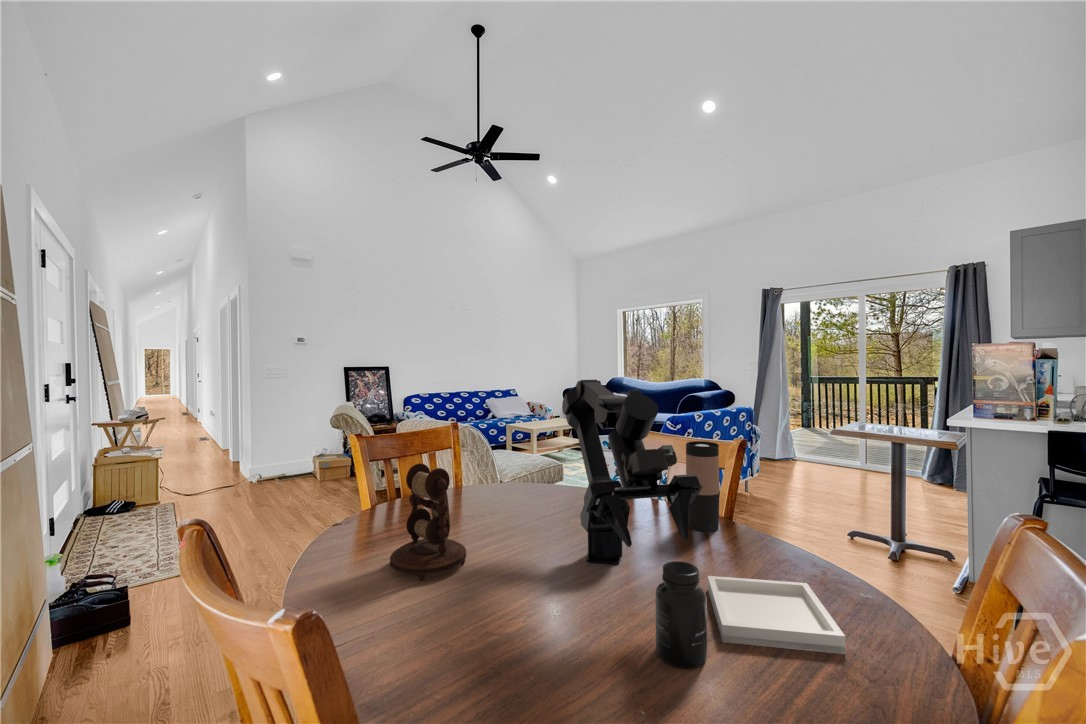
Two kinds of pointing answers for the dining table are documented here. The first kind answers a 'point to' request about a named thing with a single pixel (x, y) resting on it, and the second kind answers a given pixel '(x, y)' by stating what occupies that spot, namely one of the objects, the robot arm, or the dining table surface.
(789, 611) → the tray
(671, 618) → the supplement bottle
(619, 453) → the robot arm
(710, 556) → the dining table surface
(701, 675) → the dining table surface
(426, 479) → the thread spool stand
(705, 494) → the travel mug
